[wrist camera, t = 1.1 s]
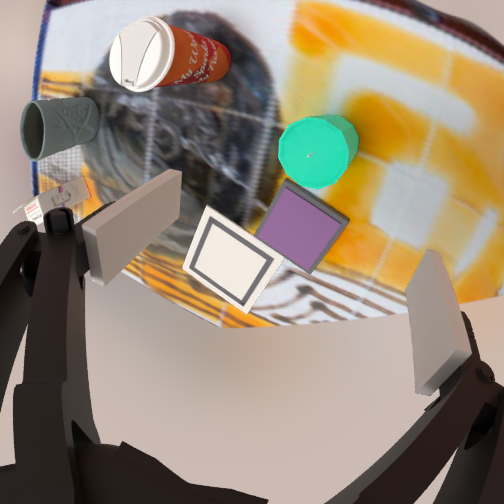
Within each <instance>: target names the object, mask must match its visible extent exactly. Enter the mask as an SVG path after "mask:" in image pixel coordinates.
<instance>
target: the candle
mask: <svg viewBox="0 0 504 504" xmlns="http://www.w3.org/2000/svg"><path fill="white" fill-rule="evenodd" d="M358 144H359V136H358V134H357V132H356V130H355V127H354V125H353V124H351V123H350V122H349V121H347V120H346V119H345V118H343V117H341V116H334V115H321V116H313V117H306V118H304V119H301V120H299V121H297V122H294V123H292V124H290V125H288V127H287V128H286V130H285V131H284V133H283V134H282V136H281V138H280V139H279V153H278V158H279V160H280V162H281V164H282V166H283V168H284V170H285V172H286V174H287V175H289V176H290V177H291V178H292V179H293V180H295V181H296V182H297V183H298V184H299V185H300V186H305V187H309V188H313V189H317V190H318V189H321V188H324V187H326V186H329V185H332V184H334V183H336V182H337V180H338V179H339V178H340V177H341V176H342V174H343V173H344V172H345V171H346V169H347V168H348V166H349V165H350V163H351V161H352V160H353V158H354V157H355V155H356V153H357V152H358Z"/></svg>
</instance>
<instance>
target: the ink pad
mask: <svg viewBox="0 0 504 504" xmlns="http://www.w3.org/2000/svg"><path fill="white" fill-rule="evenodd" d="M348 223H349V219H348V218H346V217H345V216H344V215H342V214H341V213H339V212H338V211H336V210H335V209H333V208H332V207H330V206H329V205H327V204H326V203H324V202H323V201H321V200H320V199H318V198H317V197H315V196H314V195H312V194H311V193H309V192H308V191H306V190H304V189H303V188H301V187H300V186H298V185H297V184H295V183H294V182H292V181H290V180H289V179H287V178H286V179H285V180H284V181H283V183H282V185H281V187H280V189H279V190H278V192H277V194H276V196H275V198H274V199H273V201H272V203H271V205H270V207H269V209H268V210H267V212H266V214H265V216H264V218H263V219H262V221H261V223H260V225H259V227H258V229H257V230H256V232H255V234H254V237H255V238H257V239H258V240H260V241H261V242H263V243H264V244H266V245H267V246H269V247H270V248H272V249H273V250H275V251H276V252H277V253H279V254H280V255H282V256H283V257H285V258H286V259H288V260H289V261H291V262H292V263H294V264H295V265H297V266H298V267H300V268H301V269H303V270H304V271H306V272H307V273H309V274H311V273H312V272H313V270H314V269H315V268H316V266H317V265H318V264H319V262H320V261H321V260H322V258H323V257H324V256H325V254H326V253H327V252H328V250H329V249H330V247H331V246H332V245H333V243H334V242H335V241H336V239H337V238H338V237H339V235H340V234H341V232H342V231H343V230H344V228H345V227H346V225H347V224H348Z"/></svg>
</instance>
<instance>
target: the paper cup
mask: <svg viewBox="0 0 504 504" xmlns="http://www.w3.org/2000/svg"><path fill="white" fill-rule="evenodd" d="M230 66H231V54H230V52H229V50H228V48H227V47H226V46H224V45H223V44H221V43H219V42H217V41H215V40H212V39H210V38H207V37H204V36H202V35H199V34H196V33H193V32H190V31H187V30H184V29H181V28H178V27H175V26H171V25H168V24H166V23H165V22H164V21H163V20H161V19H159V18H157V17H155V16H148V17H144V18H141V19H138V20H136V21H135V22H133V23H131V24H129V25H128V26H126V27H125V28H124V29H123V30H122V31H121V32H120V33H119V34H118V35H117V37H116V39H115V40H114V43H113V45H112V48H111V52H110V69H111V73H112V75H113V77H114V79H115V80H116V81H117V82H118V83H119V84H120V85H121V86H125V87H126V88H128V89H129V90H132V91H135V92H143V91H147V90H150V89H152V88H153V87H164V86H172V85H180V84H191V83H205V82H214V81H217V80H219V79H221V78H223V77H224V76H225V75H226V74H227V72H228V71H229V69H230Z"/></svg>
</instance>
